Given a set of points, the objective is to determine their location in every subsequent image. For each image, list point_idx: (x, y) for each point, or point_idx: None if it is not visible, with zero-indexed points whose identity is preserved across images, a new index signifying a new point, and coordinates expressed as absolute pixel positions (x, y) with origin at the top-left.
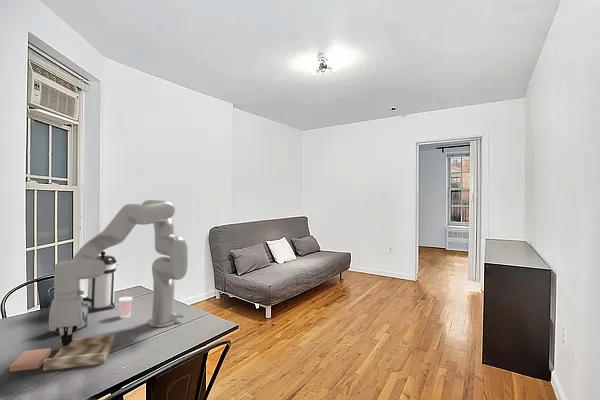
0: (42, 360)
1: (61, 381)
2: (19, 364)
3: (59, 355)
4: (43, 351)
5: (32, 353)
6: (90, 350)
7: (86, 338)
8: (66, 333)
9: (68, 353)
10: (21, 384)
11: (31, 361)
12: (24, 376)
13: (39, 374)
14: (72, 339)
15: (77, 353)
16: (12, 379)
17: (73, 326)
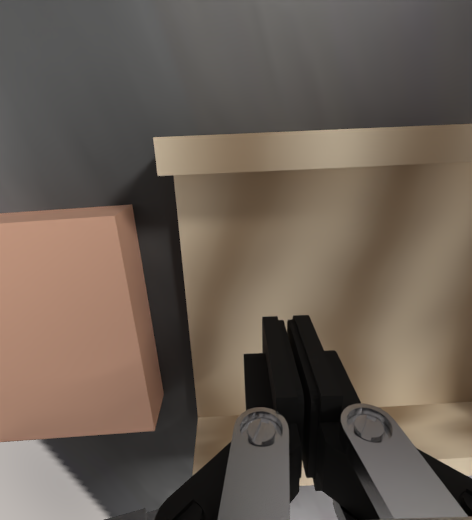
0: (148, 374)
1: (317, 497)
2: (41, 431)
3: (213, 268)
4: (86, 272)
5: (17, 291)
6: (415, 229)
7: (416, 158)
8: (295, 428)
9: (266, 247)
10: (152, 493)
11: (93, 407)
12: (123, 437)
13: (189, 431)
14: (275, 153)
15: (331, 261)
16: (80, 452)
17: (432, 516)
